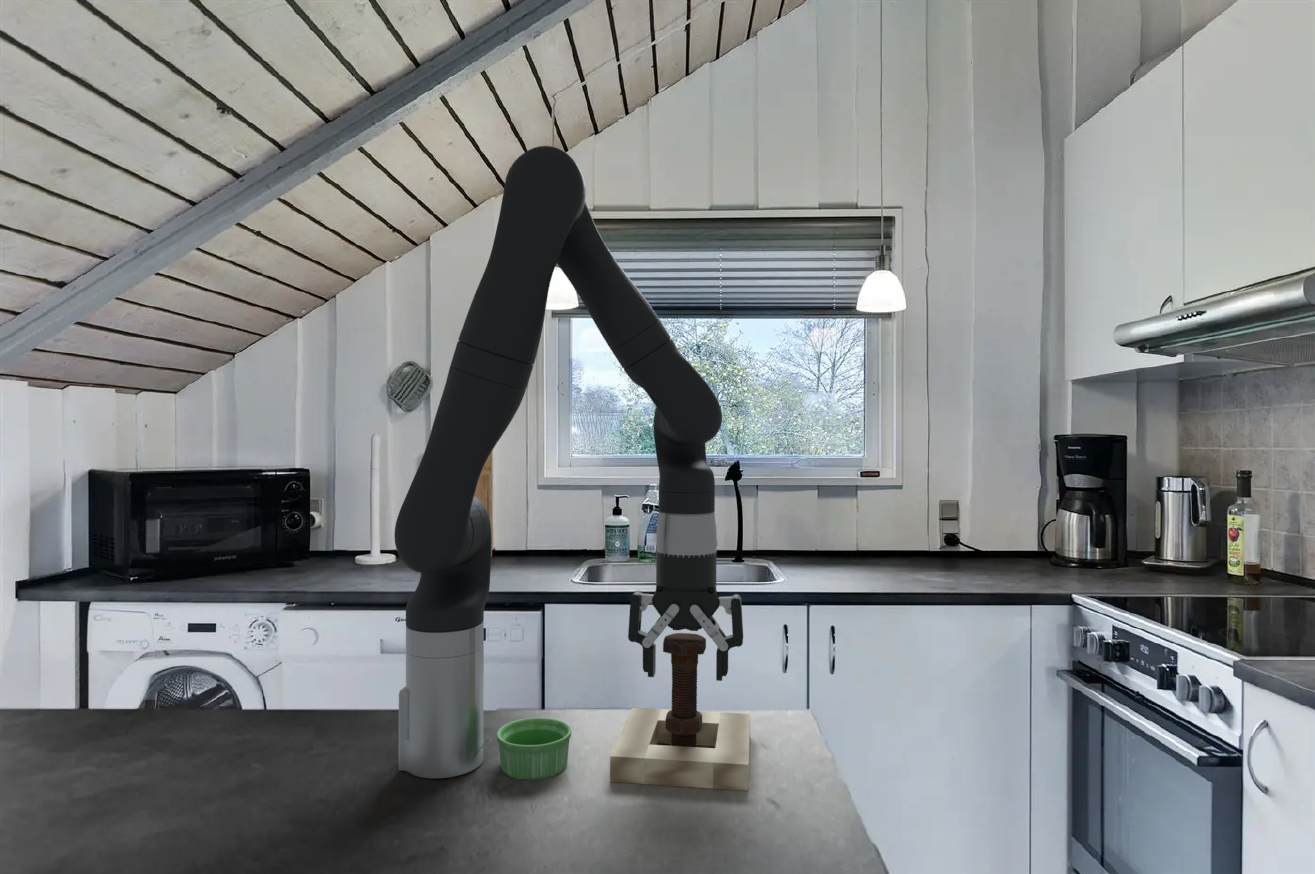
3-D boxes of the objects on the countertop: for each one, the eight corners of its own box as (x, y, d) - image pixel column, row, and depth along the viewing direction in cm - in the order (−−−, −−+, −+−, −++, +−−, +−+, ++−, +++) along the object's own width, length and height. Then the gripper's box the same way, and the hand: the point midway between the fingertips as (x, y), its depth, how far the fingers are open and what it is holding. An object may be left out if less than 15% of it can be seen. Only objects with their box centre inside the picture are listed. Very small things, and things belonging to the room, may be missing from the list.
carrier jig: (610, 781, 92) (610, 755, 92) (632, 729, 108) (632, 707, 108) (748, 790, 90) (748, 764, 90) (750, 736, 106) (750, 713, 106)
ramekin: (492, 756, 99) (492, 721, 99) (563, 747, 102) (563, 713, 102) (501, 787, 91) (501, 749, 91) (578, 777, 94) (578, 740, 94)
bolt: (700, 768, 96) (702, 644, 96) (660, 765, 97) (661, 642, 97) (706, 749, 102) (707, 633, 102) (667, 746, 102) (668, 631, 102)
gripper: (625, 551, 96) (624, 684, 96) (743, 554, 94) (742, 689, 94) (634, 542, 103) (634, 665, 104) (744, 544, 102) (743, 670, 102)
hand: (685, 677), depth 99 cm, fingers open, 8 cm apart
